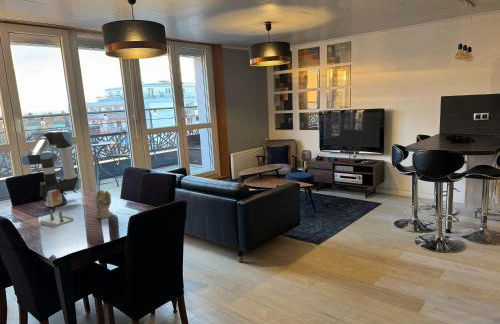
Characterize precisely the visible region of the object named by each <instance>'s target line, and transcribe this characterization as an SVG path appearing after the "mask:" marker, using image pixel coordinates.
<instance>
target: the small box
mask: <svg viewBox="0 0 500 324" xmlns="http://www.w3.org/2000/svg"><path fill="white" fill-rule="evenodd" d="M46 197H48V203H49V206H46V207H48V208H53V207H52V206H56V205H59V204H61V196H60V190H51V191H48V192H47V195H46ZM56 207H57V206H56Z"/></svg>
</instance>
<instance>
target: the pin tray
mask: <svg viewBox="0 0 500 324" xmlns="http://www.w3.org/2000/svg"><path fill="white" fill-rule="evenodd" d="M49 215H50V218H48V219H46V220H43V219H41V220H40V224H41V225H46V226H50V227H53V228H55V227H58V226H62V225H64V224H67V223H70V222H73V221H74V217H73V216H66V215H63V211H59V212H58V215H57V216H55V217H54V211H53V209H49Z"/></svg>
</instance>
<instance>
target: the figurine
mask: <svg viewBox="0 0 500 324" xmlns="http://www.w3.org/2000/svg"><path fill="white" fill-rule="evenodd" d="M95 202H96V209H97V211H96V212H97V213H96V220H104V219H108V218H111V217H113V213H112V212H110V210H109V209H110V207H111V204H112V195H111V193H110V192H109V191H108V190H105V191H104V190H98V191H97V192H96V196H95Z"/></svg>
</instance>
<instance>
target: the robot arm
mask: <svg viewBox="0 0 500 324" xmlns="http://www.w3.org/2000/svg"><path fill="white" fill-rule="evenodd" d="M73 143H74V137H73V135H72V133H71V131H69V130H54V131H53V130H52V131H45V132H44V133H42V134H41V135H39V136H38V137H37V138H36V140H35V144H34V145H33V147H32V148H31V150H30V151H29V153H28V154H23V155H22V156H21V162H22V165H23V166H35V165H41V167H42V173H43V180H44V181H43V182H42V181H41V182H40V183H39V185H40V187H39V188H40V189H39V197H40V198H41V197H42V198H43V202H44V203H45V204H44V205H45V207H47V206H49V203H48V197H46V195H47V192H48V191H51V190H60V196H61V204H59V205H56V206H52V207H51V208H54V207H55V208H56V207H60V206H64V205H66V204H68V200H67V198H66V196H65V194H64V193H66V192H67V193H68V192H76V191H80V189H81V187H82V179H81V178H82V177H80V176H79V175H78V174H77V173H76V171H75V165H74V159H73V155H72V152H71V149H72V147H73ZM50 146H51V147H52V146H55V148H56V149H57V150H58V152H59V156H60V161H61V165H62V170H63V171H62V172H63V174H64V175H63V176H62V177H61V176H57V175H56V169H55V163H56V162H57V161H58V160H59V156H58V153H56V152H53V151H51V150H49V151H48V150H47V151H45V150H46V149H47V148H48V147H50Z"/></svg>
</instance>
